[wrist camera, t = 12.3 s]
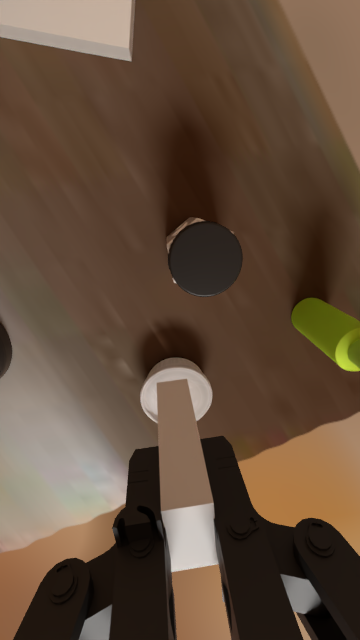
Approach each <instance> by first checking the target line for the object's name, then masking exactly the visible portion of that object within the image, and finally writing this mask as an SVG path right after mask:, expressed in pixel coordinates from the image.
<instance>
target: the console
mask: <svg viewBox="0 0 360 640" xmlns="http://www.w3.org/2000/svg"><path fill="white" fill-rule="evenodd" d="M134 13H135V0H0V37H3V38H8V39H14V40H19V41H24V42H30V43H35V44H40V45H46V46H51V47H57V48H62V49H67V50H73V51H78V52H83V53H89V54H94V55H99V56H105V57H110V58H116V59H121V60H126V61H132V46H133V30H134Z"/></svg>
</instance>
